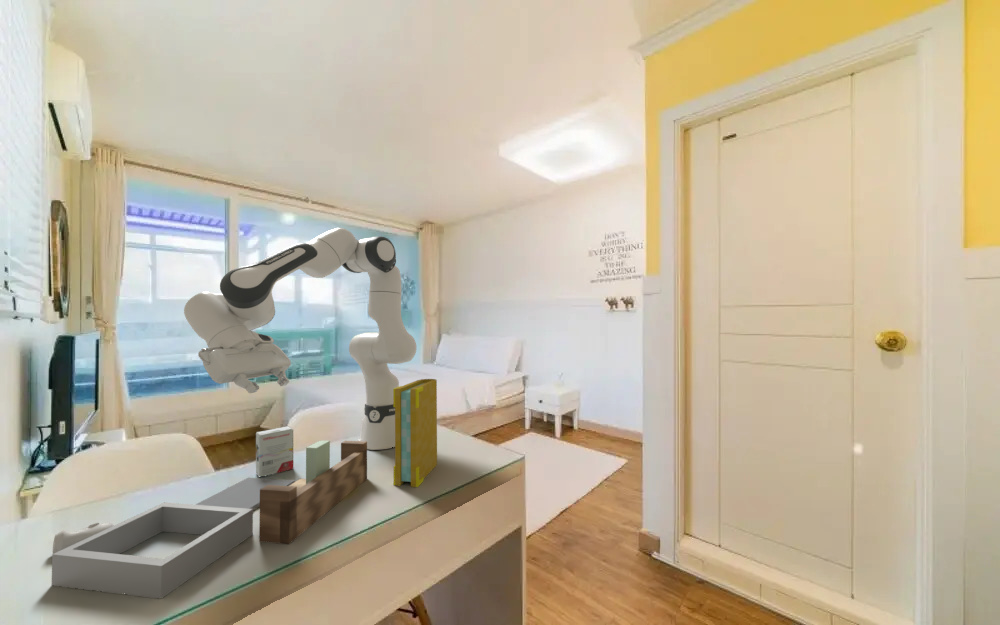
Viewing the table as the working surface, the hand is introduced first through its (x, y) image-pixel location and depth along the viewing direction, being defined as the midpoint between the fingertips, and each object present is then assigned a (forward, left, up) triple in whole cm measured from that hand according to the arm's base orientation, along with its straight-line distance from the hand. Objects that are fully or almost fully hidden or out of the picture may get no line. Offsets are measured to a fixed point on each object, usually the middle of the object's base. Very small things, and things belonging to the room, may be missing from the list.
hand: (271, 387), depth 86 cm
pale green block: (0, +12, -27) cm, 30 cm away
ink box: (-16, -13, -27) cm, 34 cm away
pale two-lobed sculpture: (+20, -22, -27) cm, 41 cm away
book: (-20, +29, -27) cm, 45 cm away
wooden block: (0, +6, -27) cm, 28 cm away
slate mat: (0, -8, -27) cm, 28 cm away
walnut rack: (0, +13, -27) cm, 30 cm away
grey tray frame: (+21, -4, -27) cm, 34 cm away
